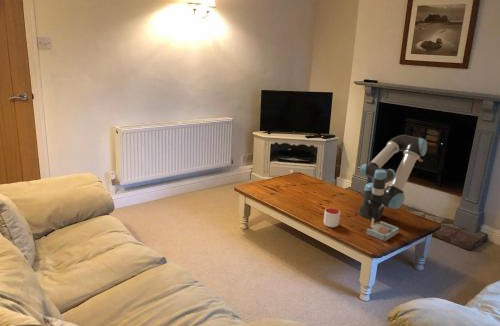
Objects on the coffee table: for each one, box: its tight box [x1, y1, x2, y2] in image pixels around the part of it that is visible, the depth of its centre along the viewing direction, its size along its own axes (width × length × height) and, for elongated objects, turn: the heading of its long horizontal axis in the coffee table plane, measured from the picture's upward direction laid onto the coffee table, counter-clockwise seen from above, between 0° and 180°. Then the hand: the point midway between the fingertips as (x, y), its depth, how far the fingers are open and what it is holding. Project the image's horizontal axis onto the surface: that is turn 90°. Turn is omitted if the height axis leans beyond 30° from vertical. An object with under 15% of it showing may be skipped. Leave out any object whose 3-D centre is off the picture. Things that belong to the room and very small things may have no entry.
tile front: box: [378, 226, 390, 235], centre depth 266 cm, size 4×4×4 cm
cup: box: [323, 207, 341, 228], centre depth 274 cm, size 10×10×10 cm
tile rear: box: [371, 223, 382, 232], centre depth 269 cm, size 4×4×4 cm
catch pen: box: [365, 221, 400, 242], centre depth 266 cm, size 13×18×4 cm
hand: (372, 226), depth 271 cm, fingers closed
